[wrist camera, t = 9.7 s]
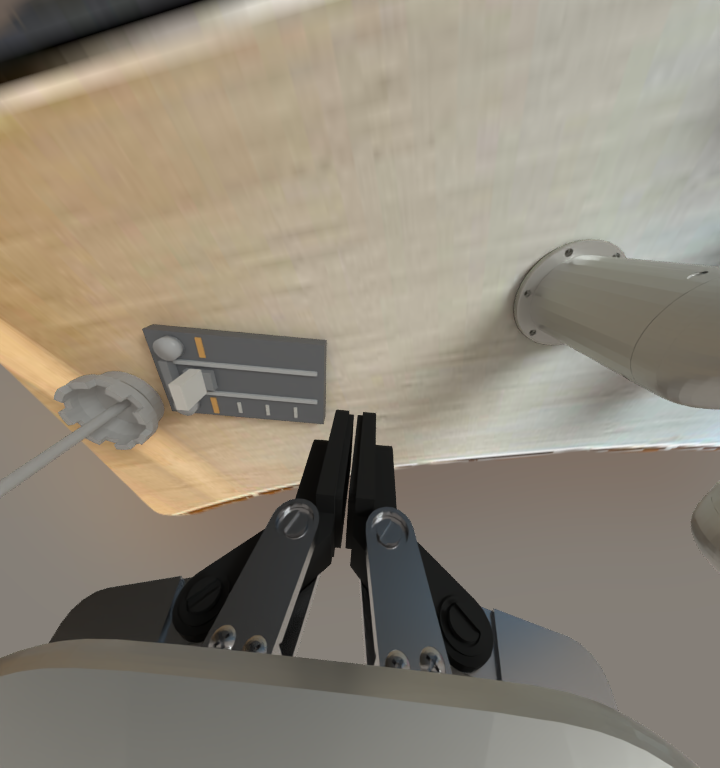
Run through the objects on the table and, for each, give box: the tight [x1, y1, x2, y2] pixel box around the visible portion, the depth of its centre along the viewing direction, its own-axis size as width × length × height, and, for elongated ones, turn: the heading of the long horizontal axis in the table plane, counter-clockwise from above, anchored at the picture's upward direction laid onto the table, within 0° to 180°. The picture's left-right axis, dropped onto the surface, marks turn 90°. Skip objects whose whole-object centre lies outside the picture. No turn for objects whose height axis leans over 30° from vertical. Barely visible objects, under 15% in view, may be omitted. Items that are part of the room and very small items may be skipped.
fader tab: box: [168, 368, 218, 411], centre depth 36 cm, size 4×4×6 cm
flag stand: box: [0, 371, 164, 498], centre depth 30 cm, size 13×13×30 cm
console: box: [142, 324, 327, 424], centre depth 38 cm, size 25×14×4 cm, turn 85°
